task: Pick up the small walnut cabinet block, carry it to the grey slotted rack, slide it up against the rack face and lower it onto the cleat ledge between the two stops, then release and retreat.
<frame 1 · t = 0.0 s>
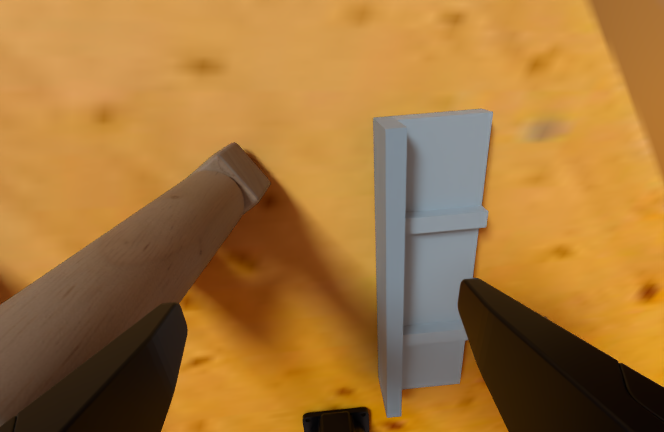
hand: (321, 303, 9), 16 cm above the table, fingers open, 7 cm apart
grey slotted rack: (383, 270, 27), on the table
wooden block: (200, 206, 24), on the table, touching gripper
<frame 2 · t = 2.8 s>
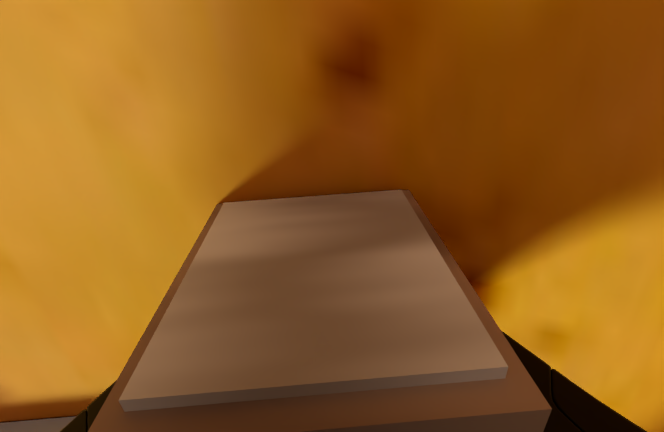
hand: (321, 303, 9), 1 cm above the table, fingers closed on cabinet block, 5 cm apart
cabinet block: (320, 274, 10), on the table, touching gripper
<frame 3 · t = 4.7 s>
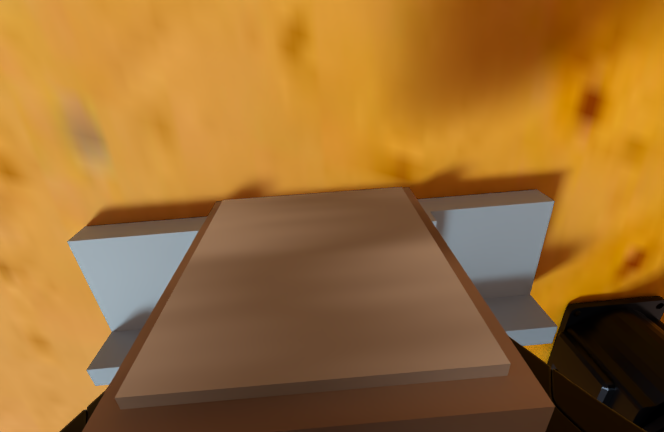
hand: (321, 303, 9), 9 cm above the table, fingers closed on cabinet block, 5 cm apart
grey slotted rack: (323, 302, 21), on the table
cabinet block: (320, 272, 10), point 8 cm above the table, touching gripper
when the fingers open (3 cm above the table, at t = 6.6 s): cabinet block stays where it is, resting on grey slotted rack.
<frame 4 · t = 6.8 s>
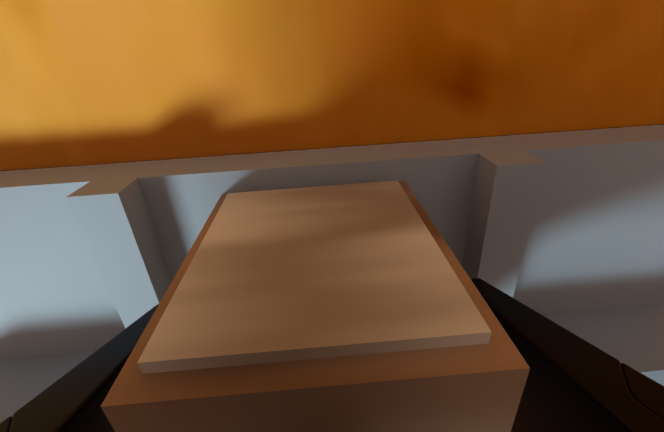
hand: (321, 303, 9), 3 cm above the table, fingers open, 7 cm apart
grey slotted rack: (324, 314, 13), on the table
cabinet block: (320, 263, 10), point 1 cm above the table, touching grey slotted rack
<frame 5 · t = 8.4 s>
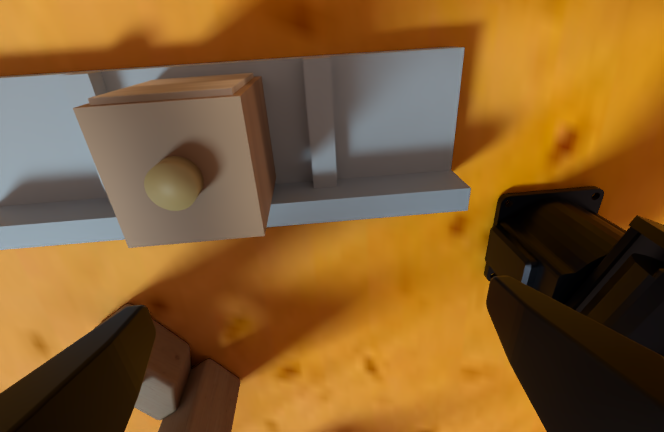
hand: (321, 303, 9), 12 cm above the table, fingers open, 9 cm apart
grey slotted rack: (235, 187, 20), on the table
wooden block: (175, 351, 26), on the table
cabinet block: (218, 134, 17), point 1 cm above the table, touching grey slotted rack
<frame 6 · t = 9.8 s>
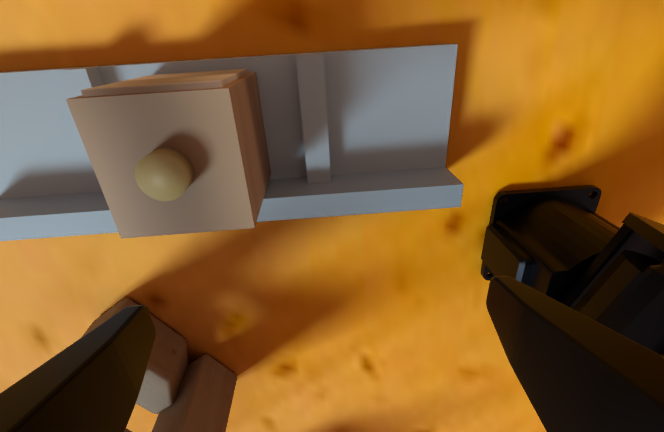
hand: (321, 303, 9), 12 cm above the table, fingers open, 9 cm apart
grey slotted rack: (232, 183, 20), on the table
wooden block: (172, 346, 26), on the table
cabinet block: (213, 129, 17), point 1 cm above the table, touching grey slotted rack
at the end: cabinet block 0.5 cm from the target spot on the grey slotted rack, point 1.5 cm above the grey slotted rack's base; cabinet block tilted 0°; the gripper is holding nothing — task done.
